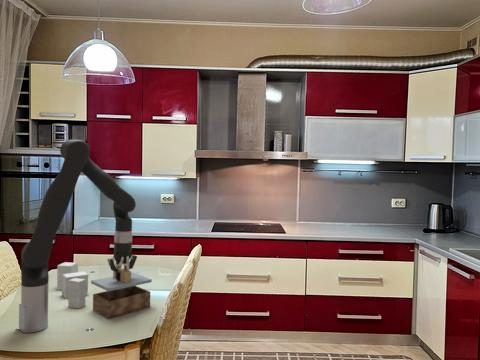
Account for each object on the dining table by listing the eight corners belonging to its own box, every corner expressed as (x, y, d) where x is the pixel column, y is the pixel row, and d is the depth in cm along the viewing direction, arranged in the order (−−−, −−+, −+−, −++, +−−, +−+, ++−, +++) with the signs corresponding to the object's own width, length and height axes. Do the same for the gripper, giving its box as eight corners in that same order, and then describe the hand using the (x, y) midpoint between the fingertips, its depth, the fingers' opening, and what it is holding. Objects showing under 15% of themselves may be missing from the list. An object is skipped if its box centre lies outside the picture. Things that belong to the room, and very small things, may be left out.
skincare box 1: (65, 299, 183) (65, 277, 182) (61, 295, 188) (62, 274, 187) (88, 295, 189) (88, 273, 189) (83, 291, 194) (84, 270, 194)
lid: (108, 291, 160) (108, 277, 159) (90, 283, 170) (91, 270, 170) (151, 282, 175) (152, 269, 175) (133, 275, 185) (133, 263, 185)
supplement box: (78, 286, 202) (78, 262, 202) (70, 291, 195) (70, 266, 194) (64, 285, 203) (64, 261, 203) (56, 290, 195) (56, 265, 195)
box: (109, 318, 161) (109, 302, 160) (92, 309, 170) (93, 294, 170) (150, 307, 175) (150, 291, 175) (133, 299, 185) (133, 284, 185)
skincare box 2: (85, 305, 175) (86, 279, 175) (79, 308, 171) (79, 281, 171) (74, 303, 177) (74, 277, 177) (67, 307, 173) (68, 280, 172)
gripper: (113, 243, 164) (111, 284, 165) (141, 240, 175) (140, 278, 175) (104, 241, 169) (102, 280, 170) (132, 238, 180) (131, 275, 180)
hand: (121, 279), depth 172 cm, fingers closed on lid, 3 cm apart
